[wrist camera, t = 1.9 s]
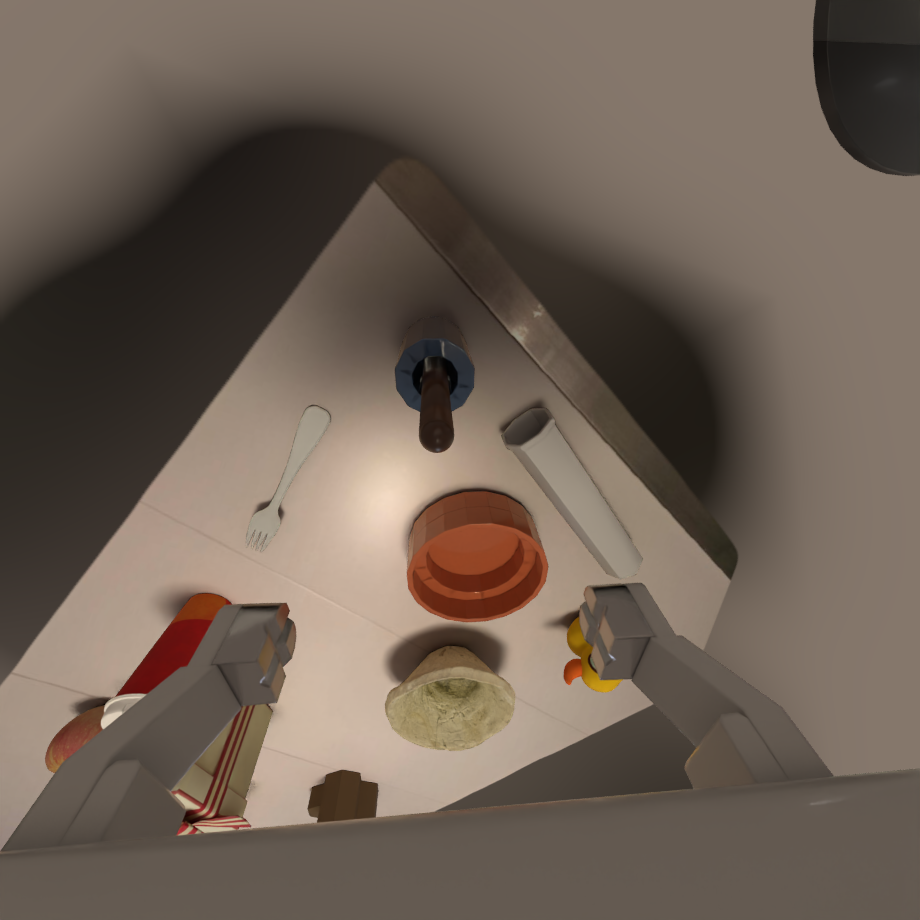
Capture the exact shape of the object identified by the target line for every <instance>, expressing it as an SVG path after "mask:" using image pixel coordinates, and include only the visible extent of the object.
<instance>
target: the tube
mask: <svg viewBox="0 0 920 920" xmlns="http://www.w3.org/2000/svg"><path fill="white" fill-rule="evenodd" d="M555 422H556V421H555V420H554V418H553V417H552V415H551V414H550V412H549V411H548V409H547V408H531V409H529V410H528V411H526V412H525V413H523V414H522V415H520V416H519V417H517V418H516V419H514V420H513V421H512V422H511V424H510V425H509V426H508V427H507V429H506V430H505V431H504V432H503V434H502V435H501V436H502V439H503V442H504V444H505V447H506V448H507V449H509V450H512V451H513V453H514V454H515V455H516V457H517V458H518V459H519V461H520V462H521V463H522V464H523V466H524V467H525V468H526V470H527V471H528V472H529V474H530V475H531V476H532V477H533V479H534V480H535V481H536V483H537V484H538V485H539V487H540V488H541V489H542V490H543V492H544V493H545V494H546V496H547V497H548V498H549V500H550V501H551V502H552V503H553V505H554V506H555V507H556V509H557V510H558V511H559V513H560V514H561V515H562V516H563V518H564V519H565V520H566V522H567V523H568V524H569V526H570V527H571V528H572V529H573V531H574V532H575V533H576V535H577V536H578V537H579V539H580V540H581V541H582V542H583V544H584V545H585V546H586V548H587V549H588V550H589V552H590V553H591V554H592V555H593V557H594V558H595V559H596V561H597V562H598V563H599V565H600V566H601V567H602V568H603V570H604V571H605V572H606V574H608V575H611V576H613V577H616V578H618V579H624V578H627V577H631V576H634V575H636V574H637V571H638V569H639V567H640V565H641V562H642V560H643V558H642V556H641V555H640V553H639V552H638V550H637V549H636V547H635V546H634V544H633V543H632V541H631V540H630V538H629V536H628V535H627V533H626V532H625V530H624V529H623V527H622V526H621V524H620V523H619V521H618V520H617V518H616V517H615V515H614V514H613V512H612V511H611V509H610V508H609V506H608V505H607V503H606V502H605V500H604V499H603V497H602V496H601V494H600V493H599V491H598V489H597V488H596V486H595V485H594V483H593V482H592V480H591V479H590V477H589V476H588V474H587V473H586V471H585V470H584V468H583V467H582V465H581V464H580V462H579V461H578V459H577V458H576V456H575V455H574V453H573V452H572V450H571V449H570V447H569V446H568V444H567V442H566V441H565V439H564V438H563V436H562V435H561V433H560V432H559V430H558V429H557V427H556V426H555V424H554V423H555Z"/></svg>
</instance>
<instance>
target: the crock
mask: <svg viewBox="0 0 920 920" xmlns="http://www.w3.org/2000/svg"><path fill="white" fill-rule="evenodd" d="M428 356H441V357H443V358H445V359H446V367H447V376H448V385H449V393H450V402H451V411H454V410H455V409H457V408H459V407H461V406H463V404H464V403H465V401H466V400H467V398H468V397H469V395H470V393H471V392H472V390H473V388H474V365H473V362H472V359H471V356H470V353H469V350H468V347H467V343H466V341H465V339H464V337H463V335H462V333H461V331H460V330H459V328H458V327H457V326H456V325H455V324H453V323H452V322H451V321H449V320H447V319H445V318H442V317H435V316H432V317H426V318H423V319H420V320H418V321H417V322H415V323H414V324H413V325H412V326H411V327H410V328H409V329H408V331H407V333H406V335H405V337H404V339H403V341H402V344H401V348H400V352H399V355H398V359H397V363H396V366H395V379H396V389H397V391H398V392H399V394H400V395H401V397H402V398H403V399H404V401H405V402H406V404H407V405H408V406H409V407H411V408H413V409H415V410H417V411H419V412H420V409H421V393H422V377H423V361H424V359H425V358H426V357H428Z"/></svg>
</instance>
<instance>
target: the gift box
mask: <svg viewBox="0 0 920 920" xmlns="http://www.w3.org/2000/svg"><path fill="white" fill-rule="evenodd" d="M241 708H242V709H241V710H240V711H239V712H238V714H237V715H236V716H235V717H234V718H233V719H232V720H231V722H230V723H229V724H228V725H227V726H226V727H225V729H224V730H223V731H222V732H221V733H220V734H219V736H218V737H217V738H216V739H215V740H214V741H213V743H212V744H211V745H210V746H209V747H208V748H207V750H206V751H205V752H204V753H203V754H202V755H201V757H200V758H199V759H198V760H197V761H196V762H195V764H194V765H193V766H192V767H191V768H190V769H189V770H188V772H187V773H186V774H185V775H184V776H183V777H182V779H181V780H180V781H179V782H178V783H177V784H176V786H175V787H174V788H173V789H172V790H171V792H172V793H173V794H174V795H175V796H176V797H177V798H178V799H179V800H180V801H181V802H182V803H183V804H184V806H185V809H186V813H185V816H184V818H183V821H182V823H181V825H180V828H179V830H178V833H177V835H186V834H197V833H208V832H219V831H231V830H237V829H239V827H251V825H250V824H249V823H248V821H247V820H246V819H244V818H243V814H244V811H245V808H246V805H247V800H245V798H246V794H247V791H248V788H249V785H250V782H251V778H252V775H253V772H254V769H255V766H256V762H257V759H258V756H259V753H260V750H261V747H262V744H263V741H264V738H265V734H266V731H267V728H268V725H269V722H270V719H271V715H272V712H273V711H272V710H271V709H270V708H269V707H268V706H267V705H266V704H261V705H251V706H241Z"/></svg>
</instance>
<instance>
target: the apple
mask: <svg viewBox="0 0 920 920" xmlns="http://www.w3.org/2000/svg"><path fill="white" fill-rule="evenodd" d="M104 707H105V705H104V706H99V707H96V708H93V709H90V710H88V711H86V712H84V713H82V714H80V715H79V716H77V717H76V718H74V719H73V720H72V721H70V722H69V723H68V724H67V725H65V726H64V727H63V728H62V729H61V730H60V731H59V732H58V733H57V734H56V736H55V737H54V738H53V740H52V741H51V743H50V745H49V747H48V749H47V752H46V757H45V762H46V765H47V768H48V769H49V770H50V771H51V772H53V773H56V771H57V770H58V768H59V767H60V765H61V764H62V763H63V762H64V761H65V760H66V759H67V758H69V757H70V756H71V755H72V754H74V753H75V752H76V751H77V750H78V749H80V748H81V747H82V746H83V745H85V744H86V743H87V742H88V741H90V740H91V739H92V738H93V737H95V736H96V735H97V734H98V733H100V732H101V731H102V730H103V728H102V726H101V719H102V717H103V715H104Z"/></svg>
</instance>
